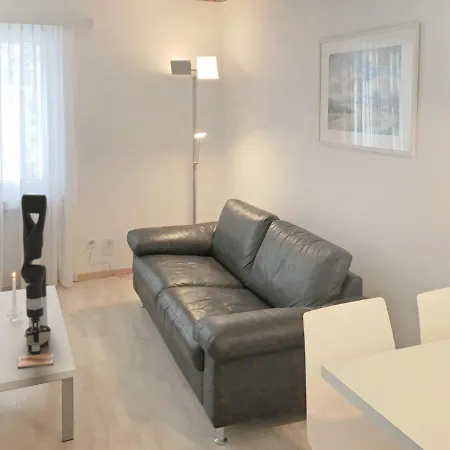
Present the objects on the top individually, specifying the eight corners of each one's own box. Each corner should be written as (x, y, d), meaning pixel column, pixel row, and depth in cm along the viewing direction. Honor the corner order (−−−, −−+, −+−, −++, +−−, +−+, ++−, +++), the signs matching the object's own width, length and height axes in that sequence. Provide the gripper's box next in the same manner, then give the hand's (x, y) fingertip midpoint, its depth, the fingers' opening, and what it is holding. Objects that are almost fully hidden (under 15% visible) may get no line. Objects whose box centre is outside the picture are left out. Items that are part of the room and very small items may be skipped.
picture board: (18, 357, 264) (18, 355, 263) (52, 354, 268) (52, 352, 268) (18, 368, 253) (18, 367, 253) (53, 364, 258) (53, 363, 258)
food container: (46, 340, 280) (46, 322, 277) (51, 346, 275) (51, 327, 272) (21, 346, 273) (20, 327, 269) (25, 352, 268) (25, 333, 265)
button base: (31, 351, 269) (31, 350, 269) (40, 350, 270) (40, 349, 270) (31, 355, 266) (31, 354, 265) (40, 354, 267) (40, 353, 267)
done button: (32, 348, 269) (31, 345, 268) (39, 347, 270) (39, 344, 269) (31, 351, 265) (31, 348, 265) (39, 350, 266) (39, 347, 266)
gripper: (26, 301, 274) (28, 333, 278) (26, 312, 261) (27, 345, 264) (43, 300, 276) (44, 331, 280) (43, 310, 263) (44, 343, 267)
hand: (36, 338), depth 272 cm, fingers open, 8 cm apart
